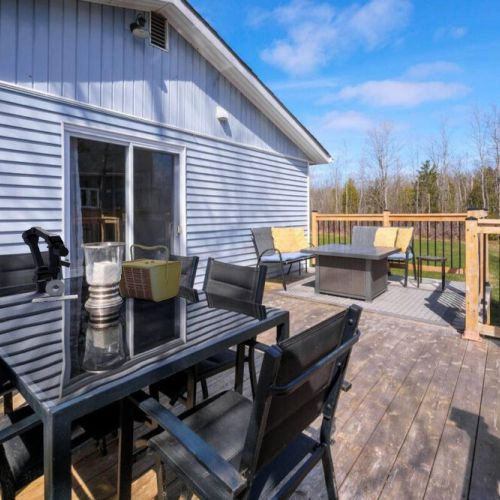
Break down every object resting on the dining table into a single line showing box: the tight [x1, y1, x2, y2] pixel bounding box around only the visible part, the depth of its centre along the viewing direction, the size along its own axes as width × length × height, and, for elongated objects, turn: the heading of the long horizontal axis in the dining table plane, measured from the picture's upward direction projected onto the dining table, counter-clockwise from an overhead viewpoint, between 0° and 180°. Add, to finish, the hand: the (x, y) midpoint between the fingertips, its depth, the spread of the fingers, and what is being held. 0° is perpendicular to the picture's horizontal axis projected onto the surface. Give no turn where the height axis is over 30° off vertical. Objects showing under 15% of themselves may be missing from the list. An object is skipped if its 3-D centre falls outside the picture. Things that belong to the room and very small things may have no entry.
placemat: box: [31, 294, 79, 304], centre depth 189 cm, size 8×22×1 cm, turn 118°
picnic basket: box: [118, 243, 183, 303], centre depth 193 cm, size 29×26×30 cm
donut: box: [45, 279, 67, 297], centre depth 195 cm, size 10×4×10 cm, turn 119°
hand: (55, 282), depth 200 cm, fingers closed
